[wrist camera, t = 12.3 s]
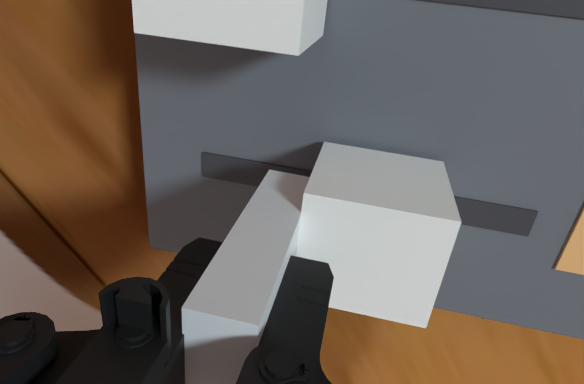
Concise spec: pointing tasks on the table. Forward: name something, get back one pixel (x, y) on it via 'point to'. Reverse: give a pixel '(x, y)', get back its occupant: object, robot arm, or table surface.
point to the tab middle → (235, 22)
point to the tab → (379, 230)
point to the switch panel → (394, 134)
